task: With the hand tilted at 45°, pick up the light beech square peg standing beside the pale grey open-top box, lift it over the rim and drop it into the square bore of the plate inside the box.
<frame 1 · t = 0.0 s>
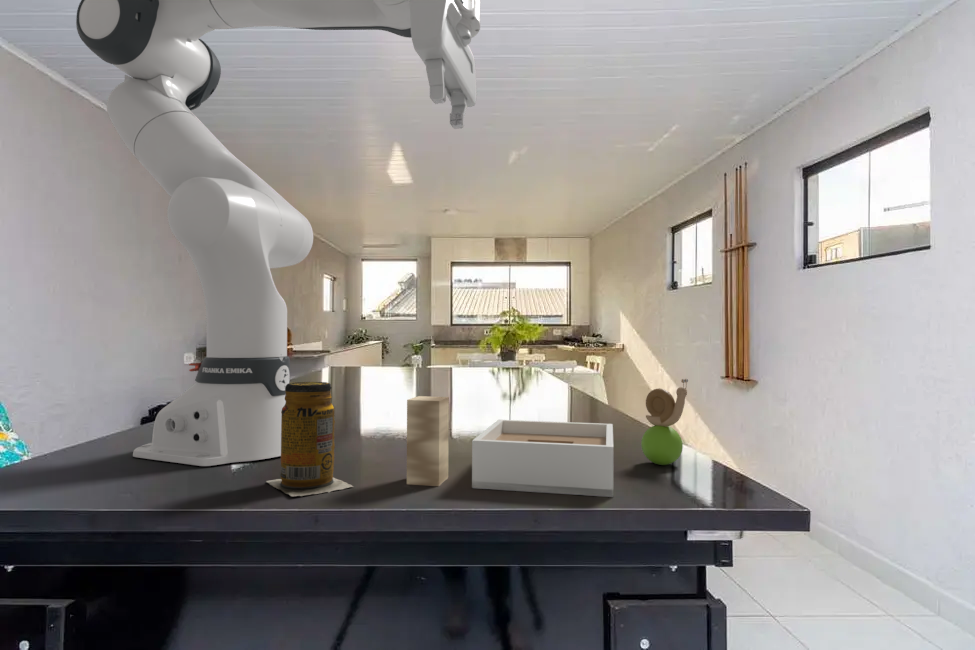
hand: (447, 115, 79), 48 cm above the table, tool pointing down, fingers open, 8 cm apart
open box: (548, 474, 72), on the table
beech peg: (427, 480, 69), on the table
snail figurine: (664, 466, 78), on the table
condiment: (309, 487, 67), on the table
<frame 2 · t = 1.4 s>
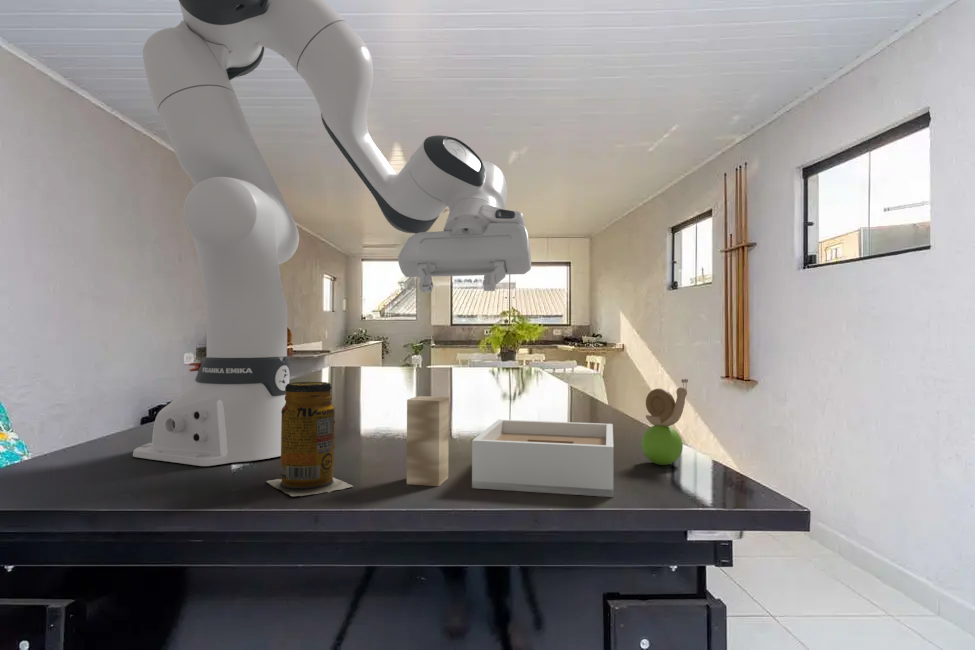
hand: (456, 288, 82), 24 cm above the table, tool tilted 45°, fingers open, 8 cm apart
nothing on the table moved.
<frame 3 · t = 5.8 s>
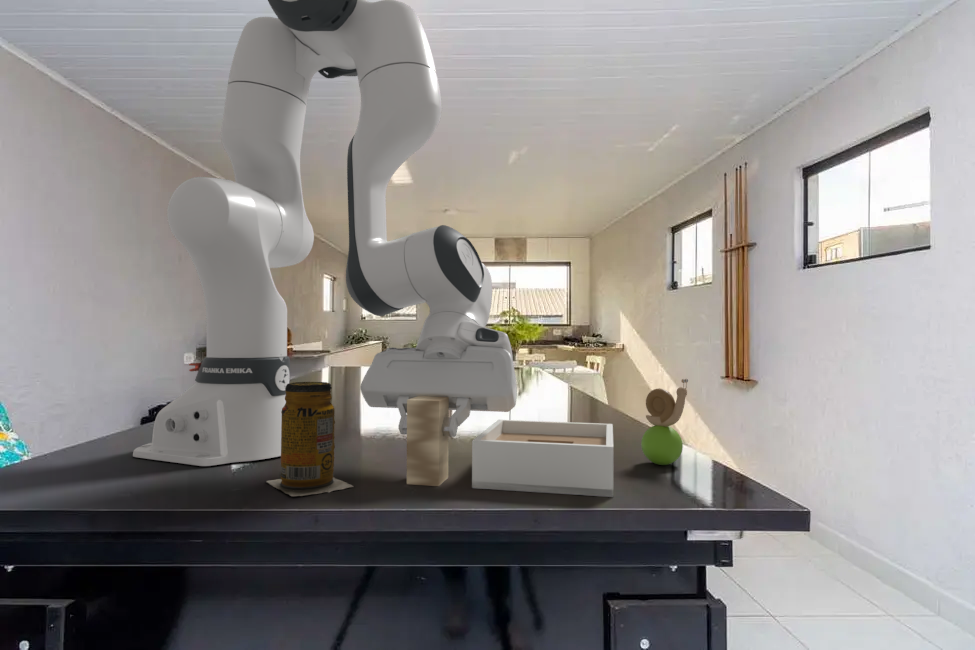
hand: (426, 432, 69), 6 cm above the table, tool tilted 45°, fingers closed on beech peg, 4 cm apart
beech peg: (427, 480, 69), on the table, touching gripper
everything else where it was.
when the fingers open (8 cm above the table, at t = 11.6 s): beech peg drops 1 cm, resting on open box.
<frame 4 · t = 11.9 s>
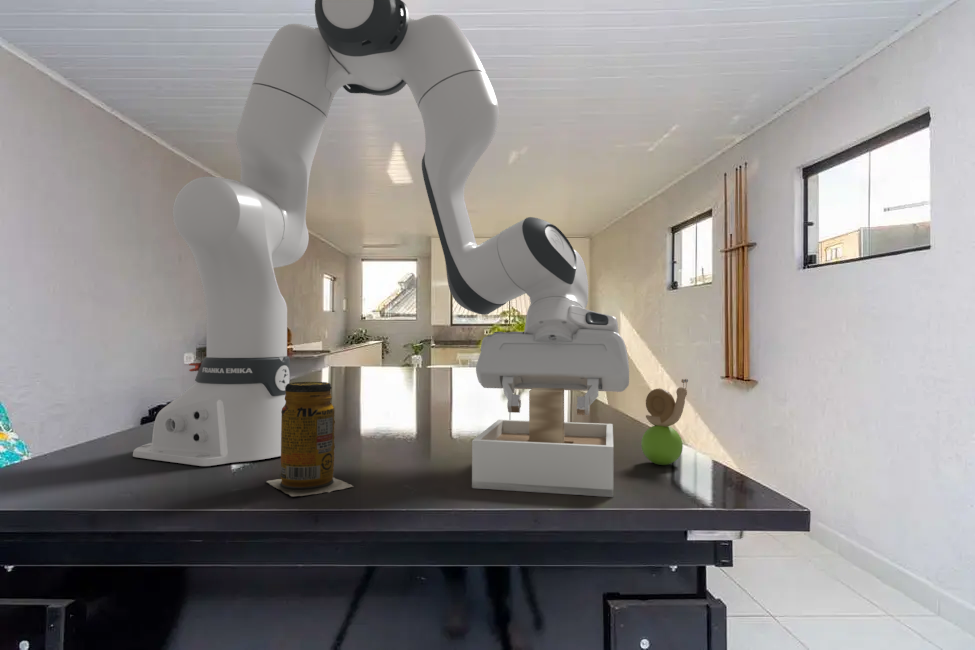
hand: (547, 411, 72), 8 cm above the table, tool tilted 45°, fingers open, 7 cm apart
beech peg: (547, 468, 72), point 1 cm above the table, touching open box
everything else where it was.
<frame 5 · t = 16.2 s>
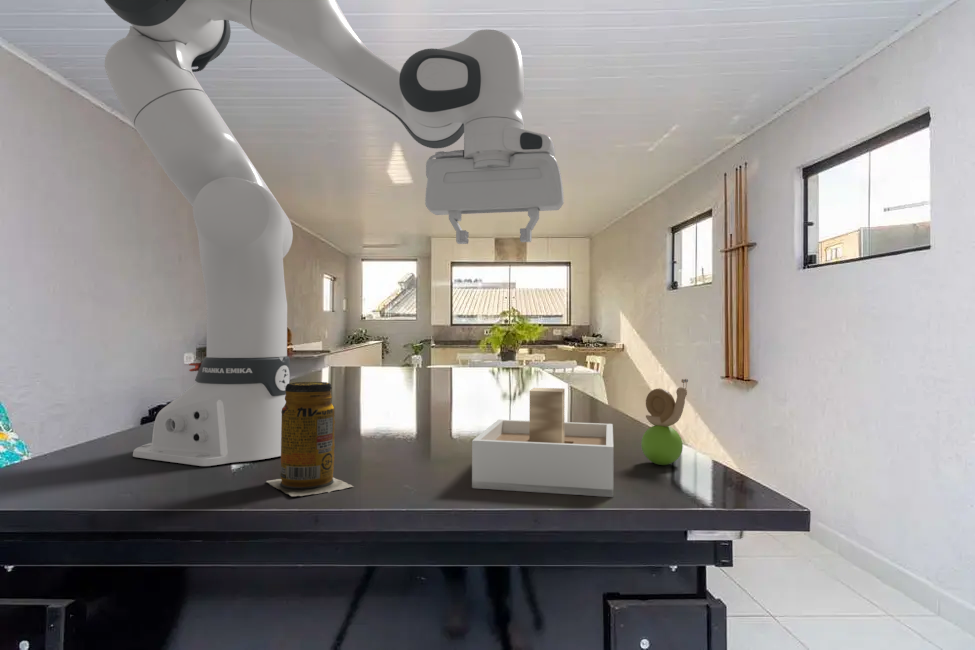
hand: (493, 242, 83), 31 cm above the table, tool pointing down, fingers open, 8 cm apart
nothing on the table moved.
at the end: beech peg 0.1 cm off-centre on the open box, point 0.8 cm above the open box's base; beech peg tilted 0°; the gripper is holding nothing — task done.
